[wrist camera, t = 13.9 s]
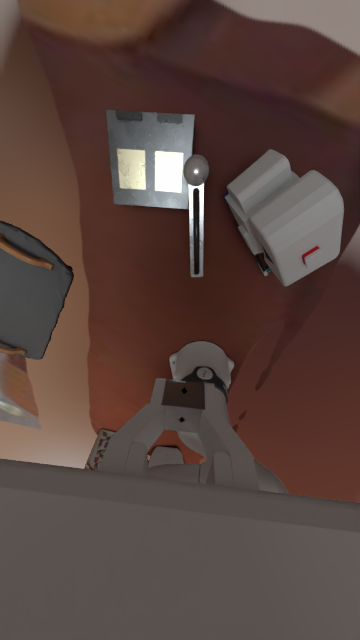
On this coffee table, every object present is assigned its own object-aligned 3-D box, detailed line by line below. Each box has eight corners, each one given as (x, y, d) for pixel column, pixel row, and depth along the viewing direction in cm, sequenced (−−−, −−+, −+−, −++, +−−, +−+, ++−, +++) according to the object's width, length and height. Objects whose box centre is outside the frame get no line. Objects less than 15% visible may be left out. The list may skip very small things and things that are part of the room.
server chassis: (200, 208, 41) (200, 210, 34) (124, 203, 41) (109, 203, 34) (208, 128, 35) (210, 110, 28) (119, 122, 35) (99, 103, 28)
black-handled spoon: (208, 158, 31) (209, 153, 28) (206, 272, 40) (207, 279, 36) (184, 159, 31) (182, 155, 28) (187, 272, 40) (186, 279, 37)
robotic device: (244, 247, 51) (289, 311, 41) (205, 174, 34) (265, 253, 24) (285, 218, 47) (346, 281, 37) (263, 120, 30) (363, 188, 20)
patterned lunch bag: (101, 427, 82) (78, 480, 67) (129, 434, 83) (113, 487, 68) (98, 442, 88) (77, 494, 73) (125, 448, 89) (109, 501, 74)
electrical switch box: (145, 440, 88) (124, 498, 72) (177, 444, 84) (163, 506, 67) (154, 458, 95) (138, 514, 79) (185, 463, 91) (174, 523, 74)
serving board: (-17, 199, 44) (-47, 199, 38) (85, 261, 49) (71, 269, 43) (-31, 325, 62) (-53, 337, 56) (45, 361, 67) (32, 375, 61)
